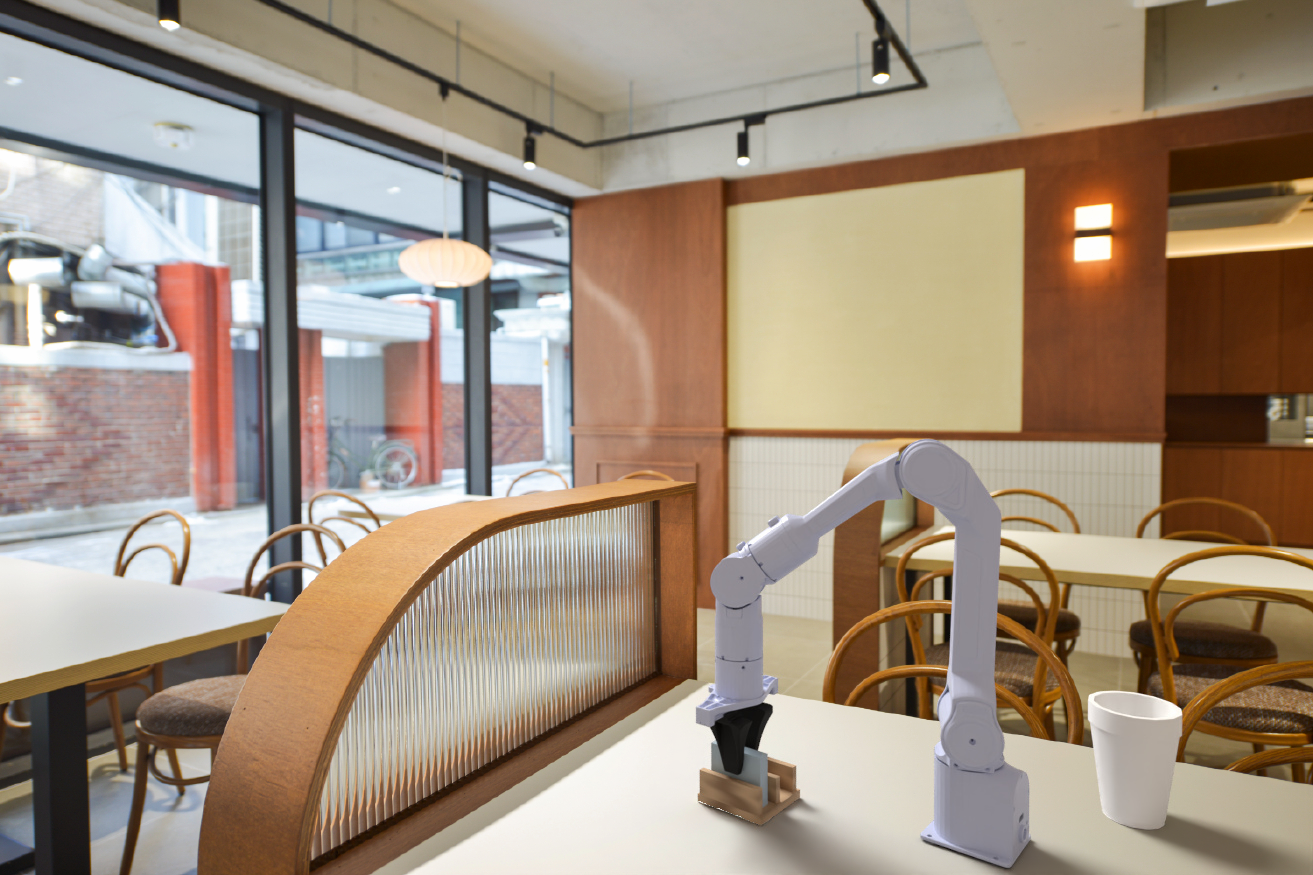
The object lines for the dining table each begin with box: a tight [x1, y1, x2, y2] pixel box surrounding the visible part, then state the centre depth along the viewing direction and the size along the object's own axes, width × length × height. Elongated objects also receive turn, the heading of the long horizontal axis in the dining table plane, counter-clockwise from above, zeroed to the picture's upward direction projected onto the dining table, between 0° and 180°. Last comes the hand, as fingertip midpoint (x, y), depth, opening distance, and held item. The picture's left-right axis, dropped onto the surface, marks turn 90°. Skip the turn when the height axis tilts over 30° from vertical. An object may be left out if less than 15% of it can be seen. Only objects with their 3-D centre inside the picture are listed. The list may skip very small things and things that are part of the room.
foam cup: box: [1087, 690, 1183, 831], centre depth 93 cm, size 10×9×13 cm
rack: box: [697, 756, 801, 826], centre depth 97 cm, size 9×9×4 cm
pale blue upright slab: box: [710, 739, 769, 808], centre depth 96 cm, size 7×2×6 cm, turn 50°
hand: (739, 767), depth 96 cm, fingers open, 2 cm apart
